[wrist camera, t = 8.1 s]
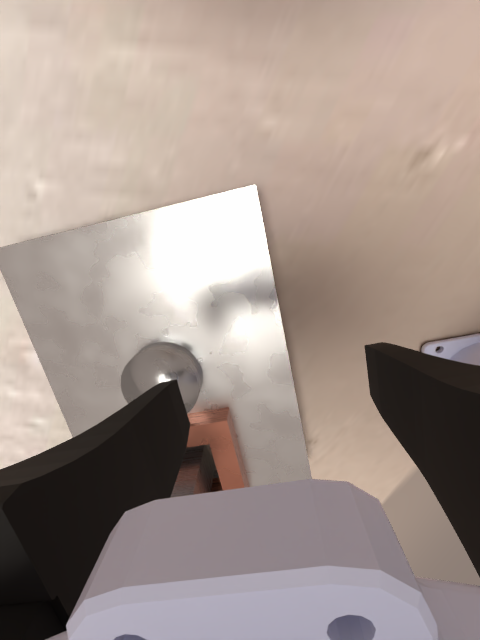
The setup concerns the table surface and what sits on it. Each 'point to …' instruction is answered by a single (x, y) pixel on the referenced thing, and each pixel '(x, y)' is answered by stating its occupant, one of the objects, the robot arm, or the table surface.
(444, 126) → the table surface
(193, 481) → the grey rectangular block
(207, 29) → the table surface
